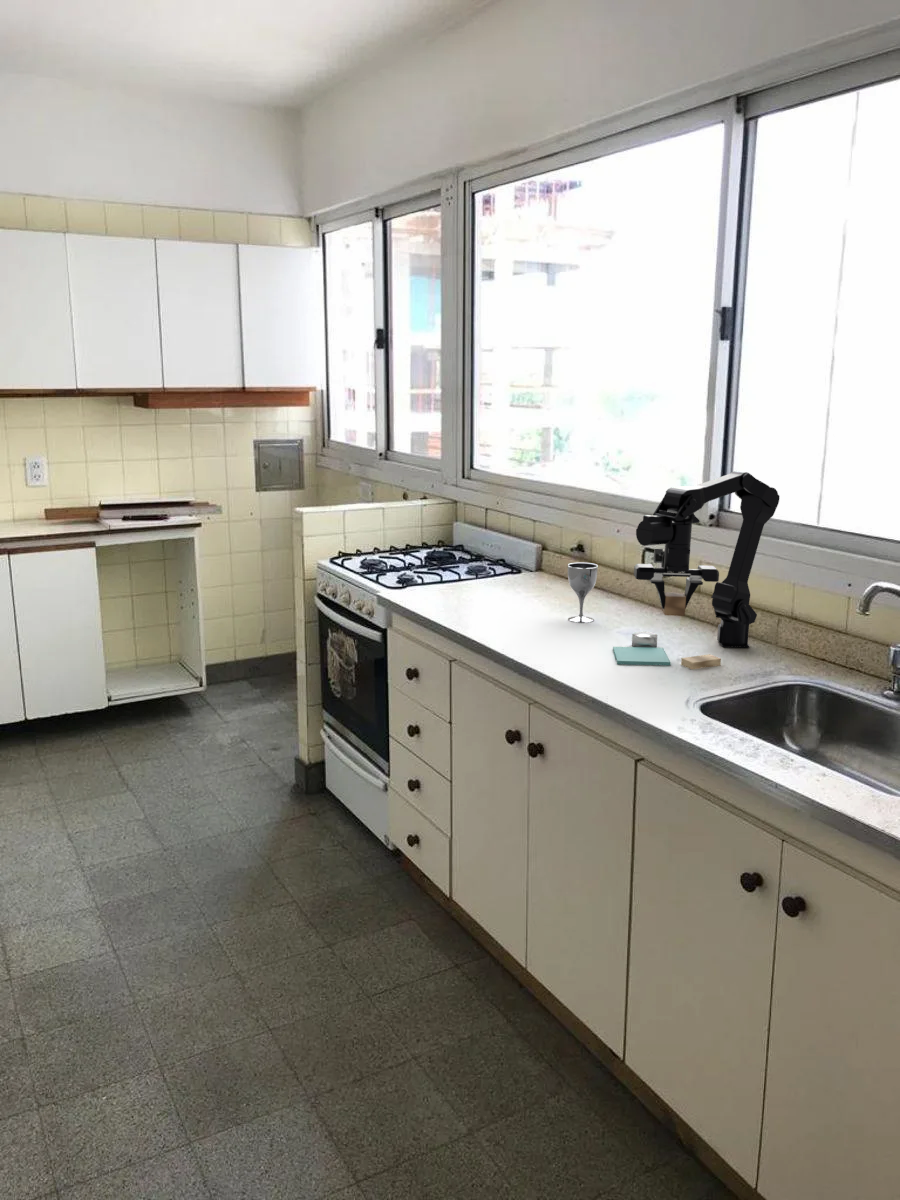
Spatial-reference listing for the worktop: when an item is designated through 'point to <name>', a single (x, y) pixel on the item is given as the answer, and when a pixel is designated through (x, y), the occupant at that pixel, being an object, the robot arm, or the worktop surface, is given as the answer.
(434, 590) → the worktop surface
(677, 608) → the walnut block
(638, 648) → the plate
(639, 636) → the metal tin
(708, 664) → the beech slab
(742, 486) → the robot arm
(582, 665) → the worktop surface
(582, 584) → the wine glass
